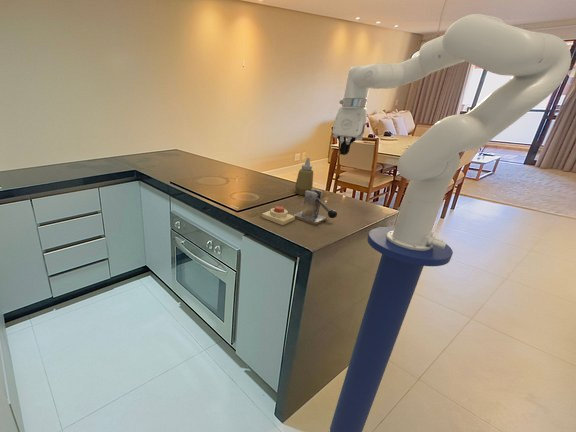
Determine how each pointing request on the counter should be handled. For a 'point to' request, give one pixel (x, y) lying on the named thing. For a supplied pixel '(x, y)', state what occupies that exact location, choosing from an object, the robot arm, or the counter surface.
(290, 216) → the control block
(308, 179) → the squeeze bottle
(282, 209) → the button
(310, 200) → the bracket
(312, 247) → the counter surface
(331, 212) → the lever
